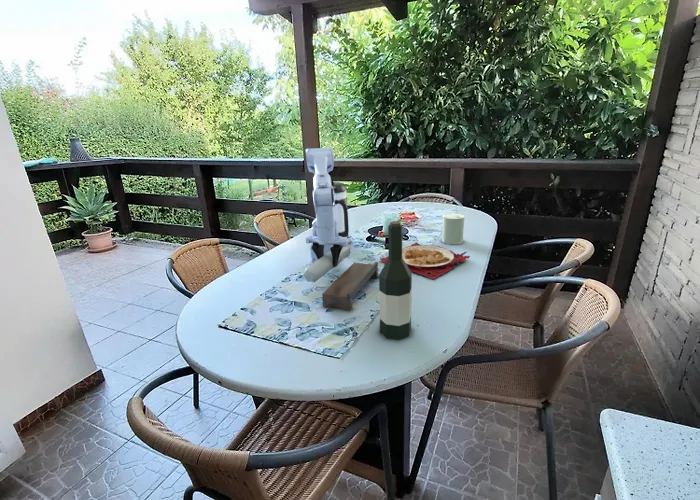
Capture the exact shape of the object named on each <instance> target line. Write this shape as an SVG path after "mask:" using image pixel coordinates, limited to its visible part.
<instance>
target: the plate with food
mask: <svg viewBox="0 0 700 500" xmlns="http://www.w3.org/2000/svg"><path fill="white" fill-rule="evenodd" d="M467 253H468V251H464V252H461V253H455V252H454V251H452V250H450V249H448V248H446V247H443V246H440V245H433V244H432V245H431V244H429V245H428V244H420V243H418V242H414V243H411V244H410V245H409V246H406V247H403V248H402V258H403V260H404V261H405V263H406V264H407V266H408V268H409V269H410V271H411V272H412V273H416V274H418V275H420V276H425V277H426V278H428V279H431V280H435V279H437V278H439V277H440V276H443V275H445V274H446V273H447V272H450V271H451V270H453V269H454V268H455V264H459V263H460V264H462V263H463V262H466V260H467V259H470V257H471V256H470V255H466V254H467ZM388 259H389V255H388V256H385V257H382V258H381V257H380V258H379V260H380V261H381V262H383V263H384V264H386V262H387V261H388ZM429 273H430V274H429Z"/></svg>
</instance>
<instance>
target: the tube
mask: <svg viewBox="0 0 700 500" xmlns="http://www.w3.org/2000/svg"><path fill="white" fill-rule="evenodd" d="M351 250H352V249H351V246H350V245H348V246H347V247H343V248H342V250H341V252H340V255H339V259H338V264H339V263H341V262H342V261H343V260H345V259H346V258H348V257H349V256H350V254H351V252H352V251H351ZM333 268H334V267H333V259H332V254H331V251H330V252H328V253H327V254H325V255H324V256H323V257H321V258H320V259H319V260H317V261H316V262H314V263H313V264H310V265H308V266H307V267H306V268H305V270H304V272H303V277H304V279H305V280H306V282H309V283H316V282H318V281H319V280H320V279H321V278H322V277H323V276H325V275H326V274H327V273H328V272H330V271H331V270H333Z"/></svg>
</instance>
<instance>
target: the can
mask: <svg viewBox="0 0 700 500" xmlns="http://www.w3.org/2000/svg"><path fill="white" fill-rule="evenodd" d="M465 217H466V216H465V215H464V214H461V213H455V212H454V213H453V212H452V213H446V214H443V215H442V233H441V234H442V235H441V241H442V243H443V244H446V245H461V244H463V243H464V228H465V227H464V226H465Z"/></svg>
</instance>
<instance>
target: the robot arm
mask: <svg viewBox="0 0 700 500" xmlns="http://www.w3.org/2000/svg"><path fill="white" fill-rule="evenodd" d="M334 153H335V152H334V148H333V147H332V146H330V147H319V148H306V149H305V159H306V166H307V170H308V172H309V173H312V174H313V178H312V179H313V181H312V182H313V190H312V198H313V199H312V200H313V206H314V207H313V208H314V212H315V219H314V220H313V221H312V223H311V229H312V235H308V236H306V237H305V244H308V245H309V244H310V258H311V262H310V265H312V264H313V263H314V262H316V261H317V260H319V259H320V258H321V257H323V256H324V255H325V254H327V253H328V252H330V251H331V254H332V259H333V268H336V267H337V266H338V264H339V263H338V259H339V255H340V252H341V250H342V248H343V247H347V246H348V245H349V242H350V241H349V239H347V240H346V239H341V238H338V225H337V221H336V220H335V219H334V206H333V205H332V203H333V204H335V197H334V190H333V187H332V185H331V177H332V176H331V175H330V174H329V173H330V172H331V171H333V169H334V165H335V154H334ZM349 246H350V245H349Z"/></svg>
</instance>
